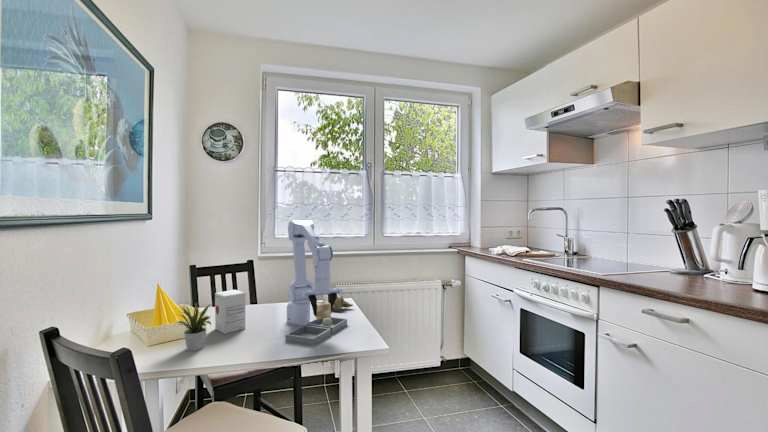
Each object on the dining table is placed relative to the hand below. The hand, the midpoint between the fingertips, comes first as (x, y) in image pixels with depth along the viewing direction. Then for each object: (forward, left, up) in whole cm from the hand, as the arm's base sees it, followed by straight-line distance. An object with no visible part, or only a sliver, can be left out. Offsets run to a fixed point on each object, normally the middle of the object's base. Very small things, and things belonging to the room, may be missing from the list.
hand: (322, 314), depth 139 cm
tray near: (-4, -3, -9) cm, 11 cm away
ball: (-4, +11, -9) cm, 15 cm away
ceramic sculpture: (-16, +38, -10) cm, 43 cm away
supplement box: (-41, -4, -10) cm, 42 cm away
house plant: (-37, -26, -10) cm, 46 cm away
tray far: (-4, +11, -9) cm, 15 cm away
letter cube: (0, 0, -1) cm, 1 cm away
